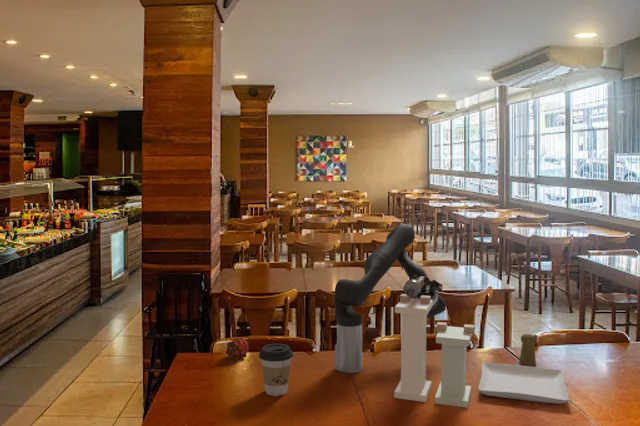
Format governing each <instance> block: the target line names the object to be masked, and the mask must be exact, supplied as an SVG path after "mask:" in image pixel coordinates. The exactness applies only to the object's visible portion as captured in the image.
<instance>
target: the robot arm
mask: <svg viewBox="0 0 640 426" xmlns="http://www.w3.org/2000/svg"><path fill="white" fill-rule="evenodd" d="M415 235H416V232H415V230H414V228H413V227H412V226H411V225H409V224H407V223H406V224H405V223H401V224H399V225H396V226H395V227H394V229H392V230H391V231H390V232H389V233H388V234H387V236H386V240H385V242H383V243H382V244H380V245H379V246H378V247H377V248H375V249H374V250H373V251H372V252H371V253H370V255H368V256H367V258H366V259H365V261H364V263H363V271H364V276H363V277H362V278H361V279H359V280H353V279H345V278H342V279H339V280H338V281H337V283H336V284H335V288H334V311H335V312H334V313H335V317H336V343H335V346H334V361H335V363H334V365H335V366H334V367H335V368H334V369H335V371H339V372H340V373H344V374H356V373H359V372H361V371H362V370H363V316H362V315H361V314H360V313H359V312H357V311H356V310H354V308H353V307H360V306H362V305H364V303H365V302H366V301H367V299H368V298H369V296H370V295H371V293H372V291H374V288H375V287H376V286H377V284H378V283H379V282H380V280H382V278H383V277H384V276H385V274H387V272H388V271H389V270H390V269H391V268H392V266H393V264H394V263H395V262H396V261H398V263H399V265H400V266H401V267H402V268H403V270H404V272H405V274H406V275H407V277H408V279H407V281H406V282H405V284H406V283H407V282H408V281H409V280H411V279H415V280H416V279H418V278H419V277H420V276H423V277H424V283H425V284H424V286H423V287H422V288H421V291H420V292H419V293H418V295H417V296H415V297H416V299H420V297H421V295H425V296H431V300H433V306H432V308H431V309H430V311H429V312H428V314H427V319H431V318H432V317H434V316H437V315H440V314H441V313H444V312H445V311H446V308H447V305H446V301H445V300H444V299H443V297H441V295H440V294H439V293H442V292H443V284H441V283H440V282H439V281H437V280H435V279H432V280H431V279H430V278H429V277H428V274H427V272H426V271H425V269H423V268H422V267H421V266H420V265H419V264H417V262H415V261H414V260H413V259H411V258H410V256H409V254H408V252H407V249H406V248H408V247H409V246H410V245H411V244H413V242H414V240H415V238H416V236H415ZM438 292H439V293H438Z"/></svg>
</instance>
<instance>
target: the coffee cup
mask: <svg viewBox="0 0 640 426" xmlns="http://www.w3.org/2000/svg"><path fill="white" fill-rule="evenodd" d="M258 354H259V355H258V358H259V359H260V363H261V369H262V370H261V372H262V377H263V385H264V391H265V393H266V395H268V396H270V395H271V397H280V396H279V395H281V396H284V395H286V394H287V393H288V390H289V381H290V372H291V365H292V363H291V362H292V358H293V357H294V352H293V350H292V349H291V347H290V346H289V345H288V344H285V343H269V344H266V345H264V346H263V347H261V350H260V351H259V353H258Z"/></svg>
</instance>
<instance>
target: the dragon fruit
mask: <svg viewBox="0 0 640 426" xmlns="http://www.w3.org/2000/svg"><path fill="white" fill-rule="evenodd" d="M226 345H227V348H226V351H225V354H226V355H228V357H230V358H232V359H233V360H236V359H238V360H240V358H242V359H243V358H246V357H247V353H248V352H249V351H250V345H249V344H248V341H247V340H245V339H243V338H242V337H237V338H234V339H232V340H231V342H230V341H229V342H227V344H226Z"/></svg>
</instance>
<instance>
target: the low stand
mask: <svg viewBox="0 0 640 426" xmlns="http://www.w3.org/2000/svg"><path fill="white" fill-rule="evenodd" d="M436 331H437V334H436V336H435V344H441V372H440V374H441V375H440V376H441V378H440V382H439V386H438V388H437V392H436V393H435V396H434V404H438V405H444V406H452V407H460V408H466V409H467V408H469V407H468V406H469V403H470V399H471V394H472V385H466V384H467V381H466V380H467V378H466V377H467V347H470V344H471V340H472V336H473V334H474V333H475V325H474V324H463V327H460V326H450V325H448V322H444V321H441V322H440V321H437V322H436Z"/></svg>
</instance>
